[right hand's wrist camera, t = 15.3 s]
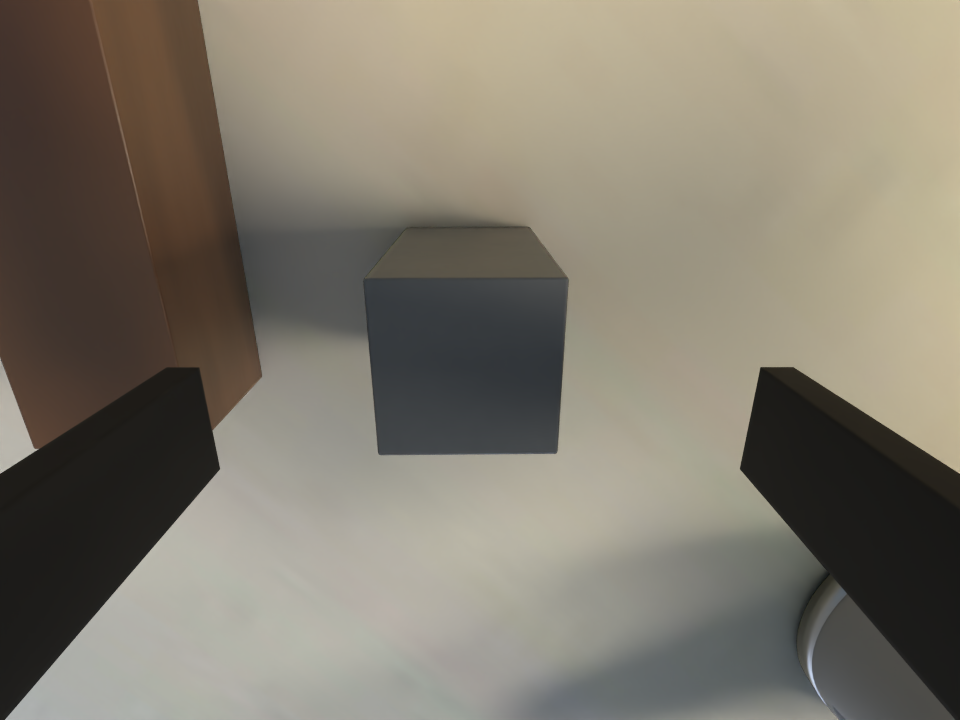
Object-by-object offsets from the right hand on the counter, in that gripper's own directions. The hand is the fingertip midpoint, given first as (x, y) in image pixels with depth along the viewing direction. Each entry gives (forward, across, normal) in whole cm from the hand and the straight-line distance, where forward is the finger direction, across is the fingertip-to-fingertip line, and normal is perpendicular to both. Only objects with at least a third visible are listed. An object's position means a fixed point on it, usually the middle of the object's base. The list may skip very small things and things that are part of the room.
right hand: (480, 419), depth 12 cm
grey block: (+10, 0, -1) cm, 10 cm away
